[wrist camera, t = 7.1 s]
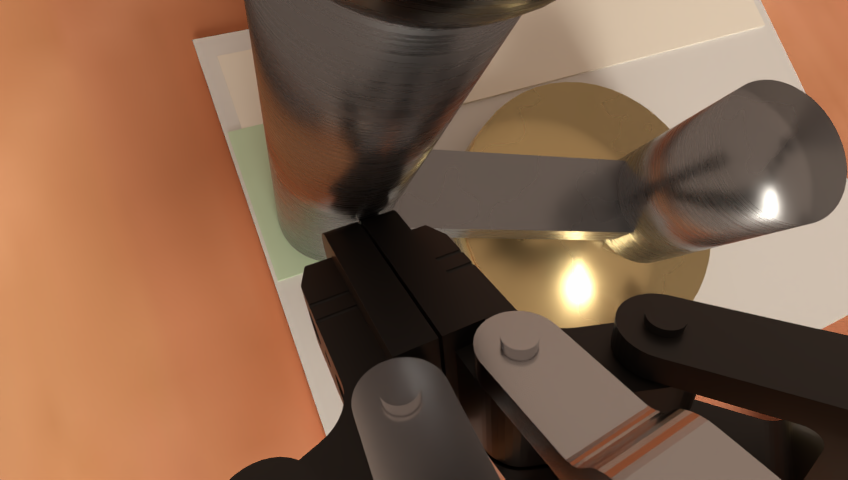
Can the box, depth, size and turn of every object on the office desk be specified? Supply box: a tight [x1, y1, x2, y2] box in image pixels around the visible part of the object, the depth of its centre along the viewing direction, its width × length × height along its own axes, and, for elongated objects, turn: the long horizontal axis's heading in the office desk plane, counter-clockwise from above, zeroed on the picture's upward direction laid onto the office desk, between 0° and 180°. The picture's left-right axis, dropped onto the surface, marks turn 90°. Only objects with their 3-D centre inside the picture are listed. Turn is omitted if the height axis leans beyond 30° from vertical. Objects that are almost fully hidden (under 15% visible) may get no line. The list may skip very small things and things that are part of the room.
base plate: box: [192, 0, 848, 436], centre depth 17 cm, size 21×15×1 cm
